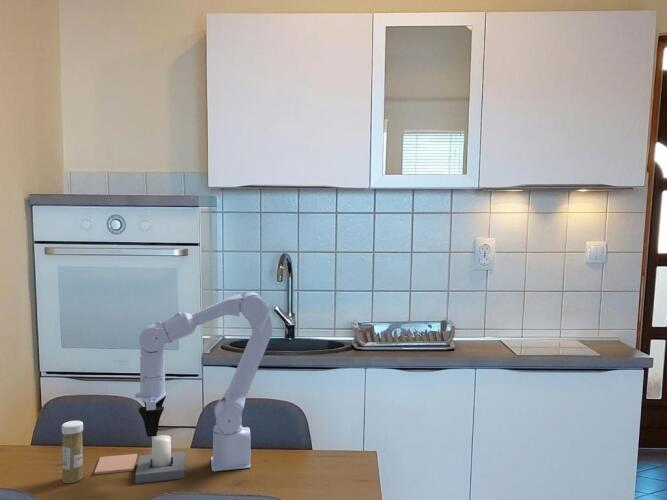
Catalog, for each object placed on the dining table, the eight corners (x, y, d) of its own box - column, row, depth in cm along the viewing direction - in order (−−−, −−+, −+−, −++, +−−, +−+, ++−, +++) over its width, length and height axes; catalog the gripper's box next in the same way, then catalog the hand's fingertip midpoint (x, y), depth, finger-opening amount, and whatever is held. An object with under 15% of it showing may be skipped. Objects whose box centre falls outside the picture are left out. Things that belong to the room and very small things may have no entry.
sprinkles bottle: (84, 481, 123) (84, 424, 123) (62, 485, 121) (62, 427, 121) (81, 473, 127) (81, 418, 127) (60, 478, 125) (60, 422, 124)
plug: (171, 465, 132) (171, 434, 132) (170, 473, 128) (170, 441, 128) (152, 467, 131) (152, 436, 131) (151, 475, 127) (151, 442, 126)
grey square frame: (184, 459, 136) (184, 451, 136) (184, 478, 126) (184, 469, 125) (139, 463, 133) (139, 455, 133) (135, 483, 123) (135, 474, 123)
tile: (137, 455, 138) (137, 453, 138) (133, 470, 129) (133, 468, 129) (100, 459, 135) (100, 457, 135) (94, 474, 127) (94, 472, 127)
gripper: (138, 368, 134) (138, 421, 135) (132, 384, 120) (132, 443, 121) (167, 367, 136) (167, 419, 136) (164, 382, 122) (164, 440, 122)
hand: (153, 430), depth 129 cm, fingers open, 7 cm apart
